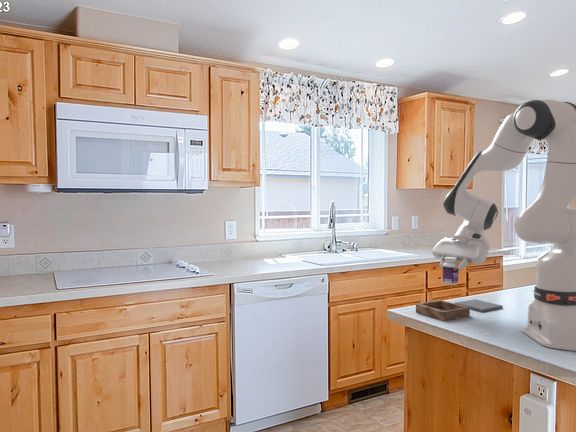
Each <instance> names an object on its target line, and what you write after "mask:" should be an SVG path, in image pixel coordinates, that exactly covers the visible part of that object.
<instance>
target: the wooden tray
mask: <svg viewBox="0 0 576 432" xmlns="http://www.w3.org/2000/svg"><path fill="white" fill-rule="evenodd" d="M470 311H471V309H470V307H466V306H462V305H458V304H455V302H450V301H446V300H443V299H437V300H432V301H426V302H420V303H415V313H418V314H421V315H423V316H424V315H425V316H427V317H431V318H434V319H437V320H439V321H450V320H455V319H461V318H465V317H470V316H471V315H470V314H471V312H470Z"/></svg>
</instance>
